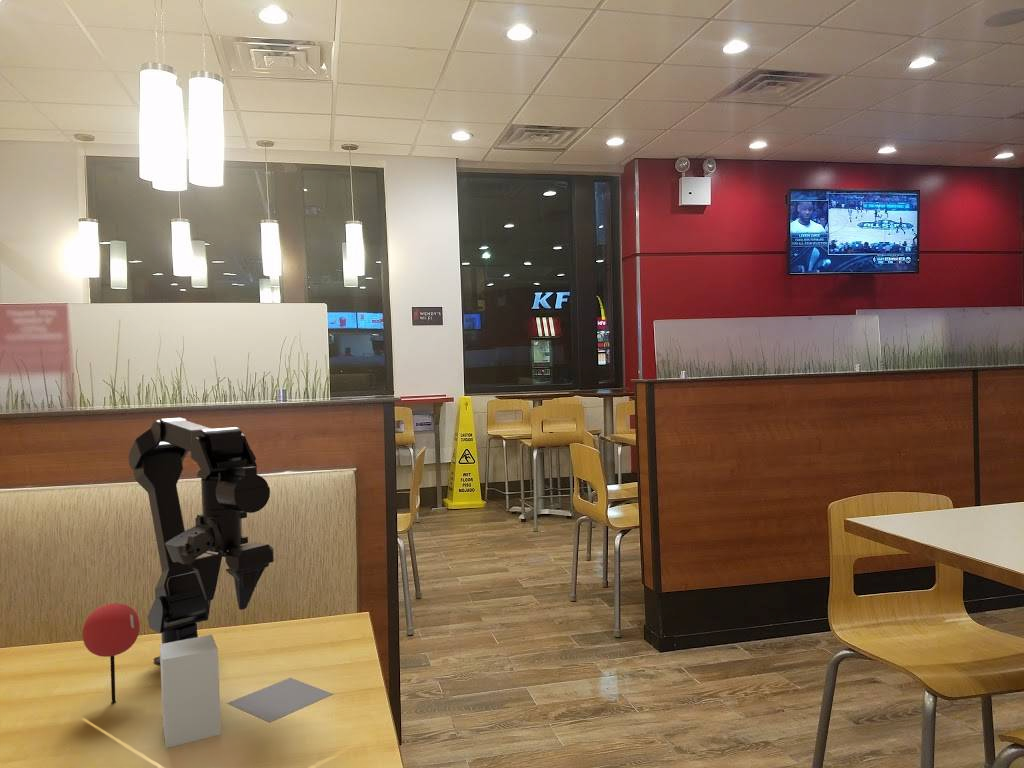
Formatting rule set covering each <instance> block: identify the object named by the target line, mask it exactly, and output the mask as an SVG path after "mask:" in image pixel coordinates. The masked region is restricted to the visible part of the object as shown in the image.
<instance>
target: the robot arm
mask: <svg viewBox="0 0 1024 768" xmlns="http://www.w3.org/2000/svg"><path fill="white" fill-rule="evenodd" d="M188 452H190V459H191V460H193V461H194V462H195V463H196V464H197V466H198V467H199V470H198V472H197V474H196V476H197V478H199V479H200V484H201V486H200V487H201V508H202V513H200V514H197V515H196V517H195V526H193V527H190V528H188V529H185V523H184V520H183V514H182V513H183V512H182V508H181V504H180V497H179V492H178V485H177V484H178V482H179V480H180V478H181V476H182V472H183V471H184V465H183V464H184V463H183V461H184V460H185V458H186V456H187V455H188ZM256 460H257V458H256V456H255V453H254V452H253V451H252V448H251V446H250V445H249V443H248V440H247V438H246V436H245V434H244V433H243V430H241V429H240V428H239V427H238V426H237V427H236V426H233V427H231V426H230V427H217V428H216V427H215V428H211V427H207V426H204V425H201V424H198V423H196V422H192V421H188V420H187V419H186V418H182V417H169V418H168V417H167V418H158V420H154V421H153V422H152V425H151V426H150V428H149V429H148V430H146V431H145V432H143V433H142V434H141V435H138V437H137V438H136V439H135V440H134V442H133V444H132V446H131V448H130V451H129V453H128V464H129V467H130V469H131V470H132V471H133V476H134V479H135V481H136V483H138V485H140V486H141V487H142V488H143V489H144V491H146V493H147V496H148V500H149V501H148V502H149V507H150V511H151V516H152V522H153V523H152V524H153V528H154V535H155V539H156V545H157V552H158V556H159V563H160V567H161V569H160V570H161V573H160V576H159V578H158V580H157V583H156V586H155V588H154V596H155V599H154V600H153V602H152V605H151V608H150V609H149V612H148V615H147V621H148V622H147V623H148V627H149V629H151V630H152V631H154V632H155V633H158V634H160V635H161V644H164V643H169V642H175V641H180V640H185V639H191V638H196V637H199V633H198V623H201V622H206V621H208V620H209V615H210V609H211V601H213V600H214V599H215V594H216V590H217V585H218V580H219V576H220V575H219V574H220V570H221V564H222V559H223V558H225V563H226V565H227V567H228V568H226V569H225V572H226V573H228V574H229V575H230V576H231V577H233V581H234V587H235V594H236V601H237V605H238V610H240V611H242V610H246V609H247V607H248V605H249V603H250V601H251V600H252V599H251V598H252V596H253V595H254V592H255V589H256V587H257V585H258V582H259V580H260V579H261V577H262V575H263V572H264V571H265V569H266V568H269V567H270V563H274V561H275V550H274V547H272V546H271V545H270V544H269V543H262V542H258V541H255V542H251V543H250V542H249V536H245V535H243V525H242V521H243V520H242V519H247V518H248V513H249V514H255V513H256V512H260V511H261V510H263V508H265V506H266V505H267V504H268V502H269V499H270V497H271V487H270V486H269V483H268V482H267V480H266V479H265V478H264V477H263V476H260V474H258V473H257V471H258V469H257V468H258V466H257V463H256ZM153 662H155V663H157V664H160V655H158V656H157V657H156V656H155V657H154V658H153Z"/></svg>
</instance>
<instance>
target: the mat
mask: <svg viewBox="0 0 1024 768" xmlns="http://www.w3.org/2000/svg"><path fill="white" fill-rule="evenodd" d="M332 695H334V693H333V692H330V691H326V690H324V689H321V688H319V687H316V686H314V685H311V684H309V683H305V682H304V681H300V680H297V679H296V678H292V677H288V678H285V679H284V680H280V681H278V682H276V683H273V684H271V685H268V686H266V687H263V688H261V689H258V690H256V691H253V692H251V693H248V694H246V695H244V696H242V697H239V698H236V699H234V700H231V701H228V702H227V704H228V705H230V706H232V707H235V708H237V709H239V710H241V711H243V712H246V713H247V714H250V715H252V716H254V717H256V718H258V719H261V720H263V721H265V722H268V723H272V722H275V721H277V720H279V719H280V718H284V717H286V716H288V715H290V714H292V713H295V712H297V711H299V710H301V709H303V708H305V707H308V706H310V705H313V704H314V703H317V702H319V701H321V700H323V699H326V698H329V697H330V696H332Z"/></svg>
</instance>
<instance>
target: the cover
mask: <svg viewBox="0 0 1024 768" xmlns="http://www.w3.org/2000/svg"><path fill="white" fill-rule="evenodd" d="M159 656H160V684H161V685H160V686H161V690H160V691H161V711H162V715H161V716H162V730H163V736H164V742H165V743H164V745H165V749H168V748H172V747H176V746H180V745H185V744H189V743H192V742H195V741H200V740H204V739H207V738H213V737H216V736H220V735H222V723H221V722H222V721H221V697H220V696H221V695H220V672H219V648H218V646H217V644H216V641H215V638H214V636H213V634H208V635H203V636H198V637H196V638H191V639H185V640H180V641H175V642H169V643H164V644H162V643H160V644H159Z"/></svg>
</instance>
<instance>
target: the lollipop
mask: <svg viewBox="0 0 1024 768" xmlns="http://www.w3.org/2000/svg"><path fill="white" fill-rule="evenodd" d="M138 615H139V614H137V612H136V611H135V609H134V608H132V607H131V606H130V605H127V604H125V603H117V602H115V603H108V604H104V605H102V606H100V607H97V608H95V609H94V610H92V612H91V613H90V614H89V615H88V617H86V619H85V621H84V624H83V627H82V642H83V644H84V646H85V647H86V649H87V650H88V651H89V652H90V653H91V654H92V655H95V656H98V657H104V658H105V657H108V658H110V659H109V661H110V684H111V685H110V688H111V690H110V691H111V692H110V693H111V702H110V703H111V704H115V703H117V701H116V671H115V665H116V664H115V656H118V655H120V654H123V653H125V652H126V651H129V649H130V648H132V647H133V645H134V644H135V643H136V641H137V639H138V637H139V634H140V627H141V626H140V619H139V616H138Z"/></svg>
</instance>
